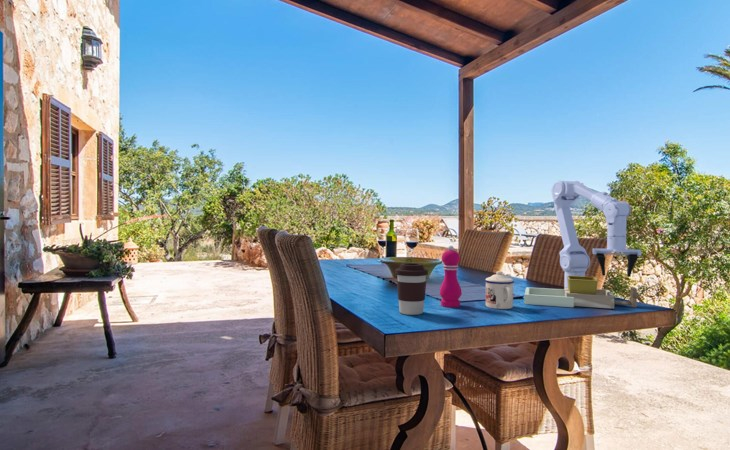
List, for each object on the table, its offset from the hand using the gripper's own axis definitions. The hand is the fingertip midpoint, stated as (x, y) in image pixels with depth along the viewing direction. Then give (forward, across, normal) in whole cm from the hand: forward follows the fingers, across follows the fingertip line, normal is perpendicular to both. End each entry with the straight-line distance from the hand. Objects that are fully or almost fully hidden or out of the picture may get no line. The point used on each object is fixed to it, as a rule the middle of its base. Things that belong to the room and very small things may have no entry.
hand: (616, 275), depth 156 cm
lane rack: (+9, -22, -5) cm, 24 cm away
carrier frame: (+9, -5, -5) cm, 12 cm away
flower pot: (+10, -11, -6) cm, 16 cm away
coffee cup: (+10, -61, -42) cm, 75 cm away
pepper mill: (+10, -52, -26) cm, 59 cm away
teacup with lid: (+10, -36, -23) cm, 44 cm away
